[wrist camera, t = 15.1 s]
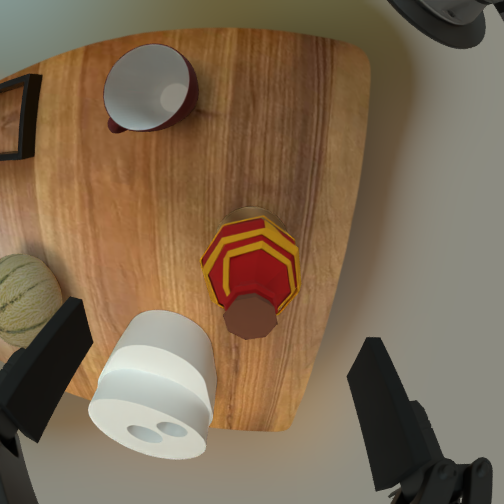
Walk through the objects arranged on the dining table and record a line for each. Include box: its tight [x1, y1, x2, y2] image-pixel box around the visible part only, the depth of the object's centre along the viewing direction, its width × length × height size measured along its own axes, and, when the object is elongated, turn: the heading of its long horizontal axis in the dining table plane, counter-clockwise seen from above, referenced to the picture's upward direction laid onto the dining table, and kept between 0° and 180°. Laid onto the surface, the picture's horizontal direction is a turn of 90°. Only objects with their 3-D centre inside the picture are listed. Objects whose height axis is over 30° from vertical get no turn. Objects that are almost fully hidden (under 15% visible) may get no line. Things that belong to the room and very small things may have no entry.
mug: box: [103, 44, 199, 133], centre depth 23 cm, size 11×8×10 cm
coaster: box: [215, 206, 287, 236], centre depth 34 cm, size 9×9×1 cm
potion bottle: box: [200, 215, 301, 340], centre depth 27 cm, size 10×10×15 cm
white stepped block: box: [88, 310, 217, 459], centre depth 38 cm, size 20×25×14 cm
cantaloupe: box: [0, 254, 62, 348], centre depth 31 cm, size 15×15×15 cm
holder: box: [0, 74, 42, 161], centre depth 25 cm, size 13×13×3 cm
